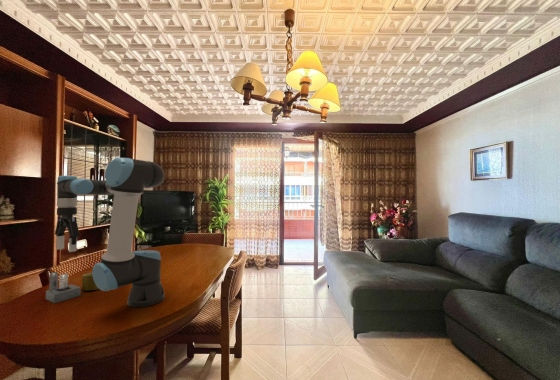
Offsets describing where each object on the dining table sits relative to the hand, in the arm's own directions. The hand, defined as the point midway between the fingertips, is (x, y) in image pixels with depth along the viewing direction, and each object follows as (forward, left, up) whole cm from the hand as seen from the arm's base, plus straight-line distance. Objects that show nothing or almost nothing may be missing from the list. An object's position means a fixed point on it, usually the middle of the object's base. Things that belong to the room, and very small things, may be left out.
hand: (66, 250), depth 119 cm
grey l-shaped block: (+5, +1, -23) cm, 23 cm away
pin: (0, +1, -23) cm, 23 cm away
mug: (+1, -13, -23) cm, 27 cm away
